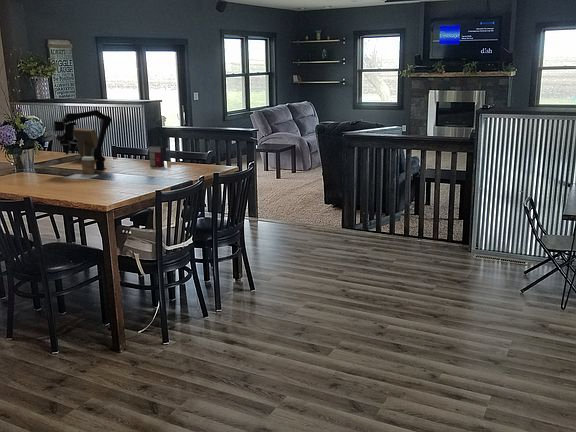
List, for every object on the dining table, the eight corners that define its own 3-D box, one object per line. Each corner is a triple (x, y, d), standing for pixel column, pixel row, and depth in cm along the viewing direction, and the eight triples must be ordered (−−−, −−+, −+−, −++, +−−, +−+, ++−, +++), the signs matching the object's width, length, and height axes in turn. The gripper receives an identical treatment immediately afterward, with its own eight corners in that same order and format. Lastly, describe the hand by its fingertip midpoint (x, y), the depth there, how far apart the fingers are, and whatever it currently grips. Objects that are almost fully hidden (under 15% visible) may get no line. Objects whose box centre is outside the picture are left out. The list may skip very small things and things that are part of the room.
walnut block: (86, 173, 405) (84, 156, 402) (95, 174, 404) (93, 156, 401) (82, 174, 401) (81, 157, 398) (92, 175, 400) (90, 157, 397)
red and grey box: (149, 166, 436) (148, 146, 432) (152, 165, 439) (151, 145, 436) (161, 167, 431) (160, 147, 428) (164, 166, 435) (163, 146, 431)
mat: (75, 174, 402) (75, 174, 402) (99, 175, 398) (99, 174, 398) (61, 178, 386) (61, 178, 386) (86, 179, 383) (86, 179, 383)
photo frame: (85, 157, 482) (82, 127, 476) (103, 159, 470) (100, 128, 464) (70, 160, 469) (67, 128, 463) (88, 162, 458) (85, 130, 452)
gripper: (63, 130, 416) (64, 152, 419) (52, 131, 397) (52, 154, 400) (79, 131, 415) (79, 153, 418) (68, 132, 397) (68, 155, 400)
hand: (69, 153), depth 409 cm, fingers open, 9 cm apart
